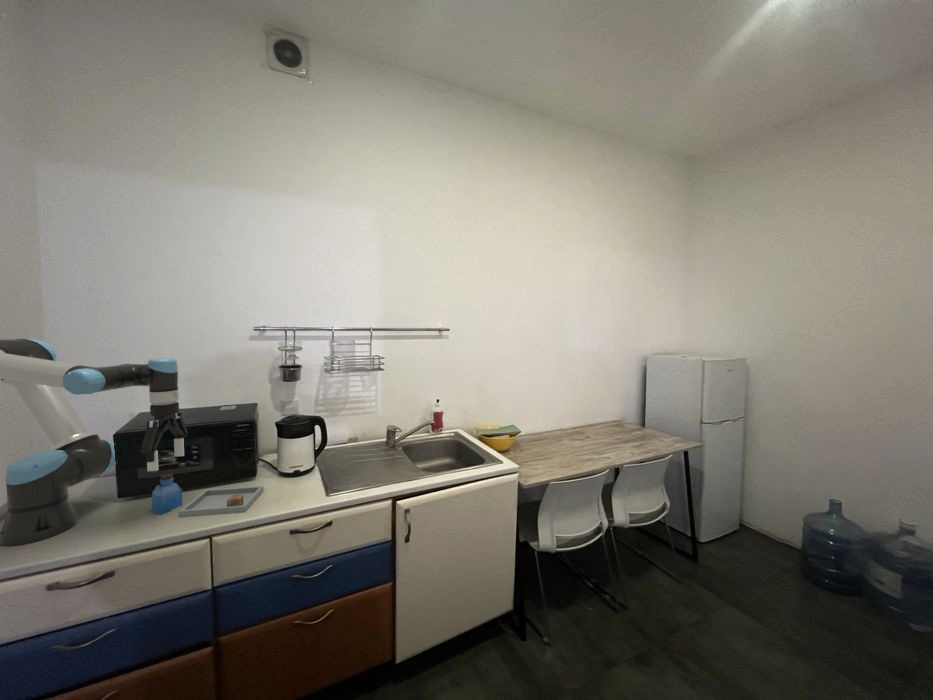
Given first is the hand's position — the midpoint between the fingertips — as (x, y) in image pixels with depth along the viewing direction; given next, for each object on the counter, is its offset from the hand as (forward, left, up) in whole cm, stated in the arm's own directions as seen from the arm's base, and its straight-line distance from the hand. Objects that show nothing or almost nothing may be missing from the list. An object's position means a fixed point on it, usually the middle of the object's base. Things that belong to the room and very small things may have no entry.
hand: (166, 463), depth 119 cm
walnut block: (+23, -4, -16) cm, 28 cm away
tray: (+18, 0, -16) cm, 24 cm away
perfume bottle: (0, 0, -17) cm, 17 cm away
